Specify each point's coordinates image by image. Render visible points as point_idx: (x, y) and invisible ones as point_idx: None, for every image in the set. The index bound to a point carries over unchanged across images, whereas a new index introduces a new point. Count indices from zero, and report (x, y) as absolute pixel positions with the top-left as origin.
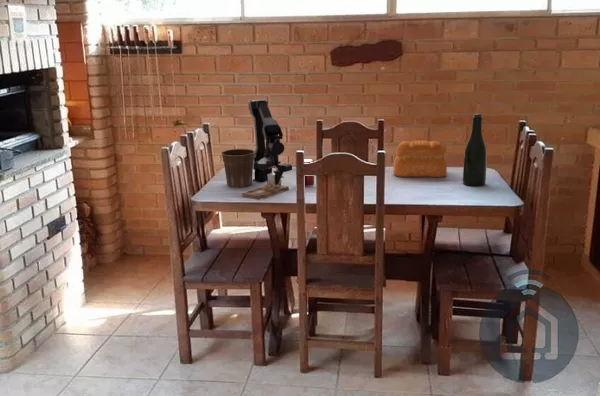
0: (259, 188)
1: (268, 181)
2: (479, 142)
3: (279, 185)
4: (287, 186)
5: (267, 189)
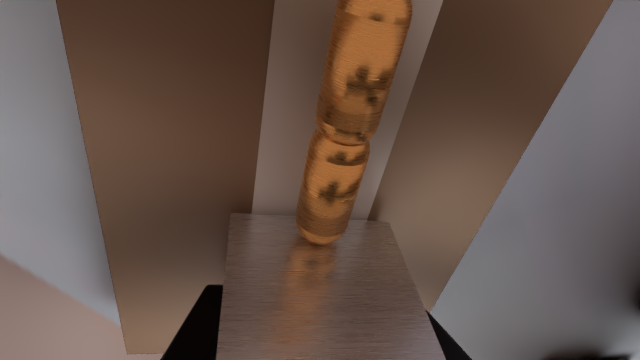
0: (518, 92)
1: (404, 306)
2: None
3: None
4: (136, 346)
5: (312, 73)
